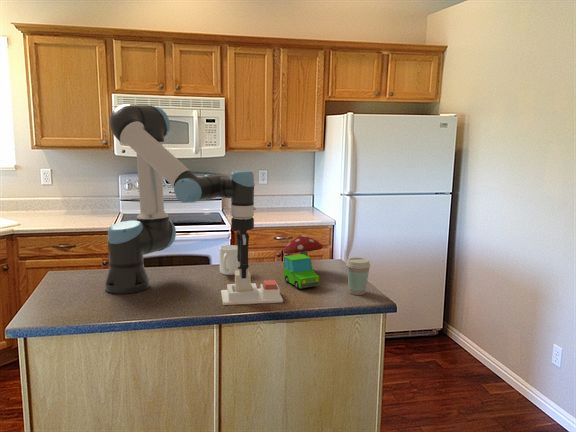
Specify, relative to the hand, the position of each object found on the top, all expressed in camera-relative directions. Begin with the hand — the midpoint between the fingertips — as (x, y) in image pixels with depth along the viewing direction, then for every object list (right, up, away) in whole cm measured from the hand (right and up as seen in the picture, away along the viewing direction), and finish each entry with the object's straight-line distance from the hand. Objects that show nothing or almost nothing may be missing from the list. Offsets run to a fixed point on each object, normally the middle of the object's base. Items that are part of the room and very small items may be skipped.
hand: (242, 283), depth 168 cm
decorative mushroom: (+21, 0, +33) cm, 39 cm away
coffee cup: (+40, -5, +8) cm, 41 cm away
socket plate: (+3, -5, +1) cm, 6 cm away
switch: (+9, -2, +2) cm, 10 cm away
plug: (0, -4, +1) cm, 4 cm away
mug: (-8, 0, +28) cm, 30 cm away
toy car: (+20, -3, +16) cm, 26 cm away
